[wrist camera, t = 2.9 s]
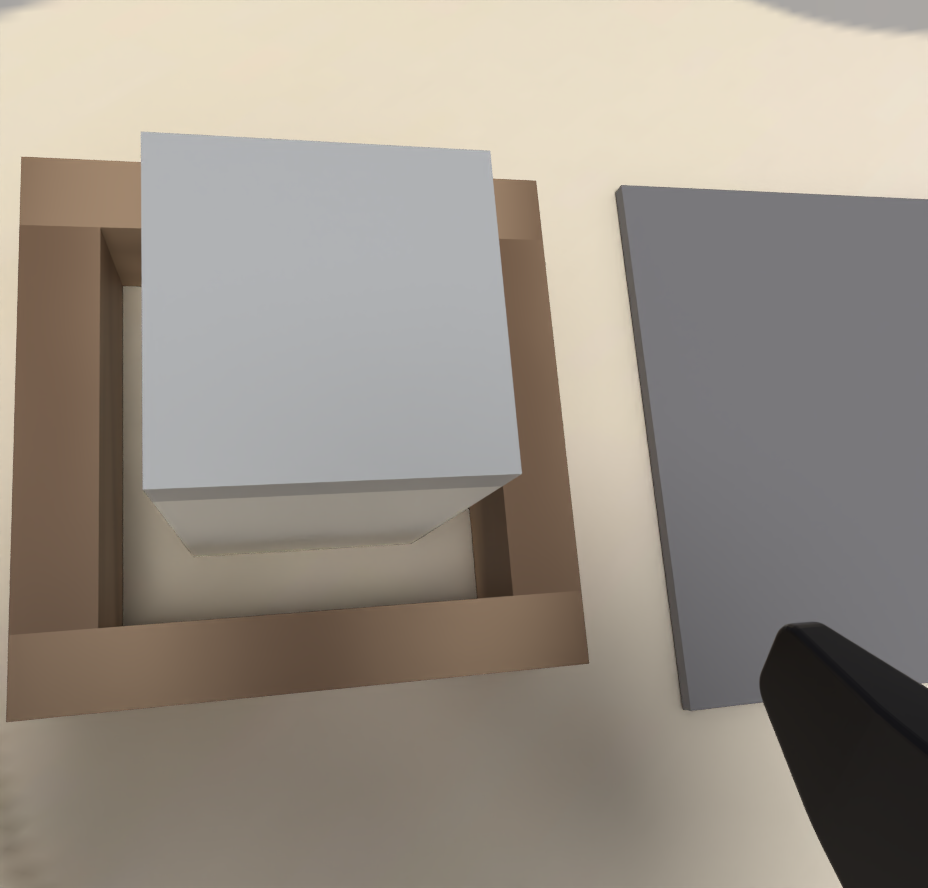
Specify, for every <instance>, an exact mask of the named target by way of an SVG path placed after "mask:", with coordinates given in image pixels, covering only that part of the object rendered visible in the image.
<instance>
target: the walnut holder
mask: <svg viewBox="0 0 928 888" xmlns="http://www.w3.org/2000/svg"><path fill="white" fill-rule="evenodd" d="M493 185H494V195H495V205H496V216H497V226H498V236H499V246H500V256H501V266H502V276H503V287H504V297H505V307H506V317H507V327H508V337H509V347H510V358H511V368H512V378H513V388H514V398H515V408H516V418H517V429H518V439H519V449H520V459H521V469H522V474H521V475H519V476H518V477H516V478H515V479H513V480H511V481H510V482H508V483H507V484H505V485H504V486H502V487H500V488H499V489H497V490H496V491H494V492H492V493H491V494H489V495H488V496H486V497H485V498H483V499H481V500H480V501H478V502H477V503H475V504H474V505H472V506H470V518H471V530H472V541H473V553H474V565H475V577H476V588H477V599H466V600H453V601H441V602H428V603H415V604H402V605H389V606H376V607H364V608H351V609H338V610H325V611H312V612H299V613H287V614H274V615H261V616H248V617H235V618H222V619H210V620H197V621H184V622H171V623H158V624H145V625H133V626H123V286H142V253H141V162H124V161H102V160H81V159H60V158H38V157H21V190H20V227H19V264H18V302H17V339H16V376H15V413H14V450H13V487H12V524H11V561H10V598H9V635H8V672H7V709H6V722H13V721H22V720H32V719H42V718H52V717H62V716H72V715H82V714H92V713H102V712H112V711H122V710H132V709H142V708H152V707H162V706H172V705H182V704H192V703H202V702H212V701H222V700H231V699H241V698H251V697H261V696H271V695H281V694H291V693H301V692H311V691H321V690H331V689H341V688H351V687H361V686H371V685H381V684H391V683H401V682H411V681H421V680H430V679H440V678H450V677H460V676H470V675H480V674H490V673H500V672H510V671H520V670H530V669H540V668H550V667H560V666H570V665H580V664H589V658H588V648H587V639H586V630H585V621H584V612H583V603H582V594H581V585H580V576H579V567H578V558H577V548H576V539H575V530H574V521H573V512H572V503H571V494H570V485H569V476H568V467H567V457H566V448H565V439H564V430H563V421H562V412H561V403H560V394H559V385H558V376H557V367H556V357H555V348H554V339H553V330H552V321H551V312H550V303H549V294H548V285H547V276H546V267H545V257H544V248H543V239H542V230H541V221H540V212H539V203H538V194H537V185H536V181H530V180H509V179H493Z"/></svg>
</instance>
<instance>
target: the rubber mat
mask: <svg viewBox="0 0 928 888" xmlns="http://www.w3.org/2000/svg"><path fill="white" fill-rule="evenodd" d="M616 200H617V207H618V215H619V223H620V230H621V238H622V245H623V253H624V261H625V268H626V276H627V284H628V291H629V299H630V307H631V314H632V322H633V330H634V337H635V345H636V353H637V360H638V368H639V376H640V383H641V391H642V398H643V406H644V414H645V421H646V429H647V437H648V444H649V452H650V460H651V467H652V475H653V483H654V490H655V498H656V506H657V513H658V521H659V529H660V536H661V544H662V552H663V559H664V567H665V574H666V582H667V590H668V597H669V605H670V613H671V620H672V628H673V636H674V643H675V651H676V659H677V666H678V674H679V682H680V689H681V697H682V705H683V710H689V711H693V710H702V709H710V708H719V707H727V706H736V705H744V704H752V703H761V702H763V701H762V698H761V694H760V689H759V678H760V673H761V671H762V668H763V666H764V663H765V661H766V659H767V656H768V654H769V651H770V649H771V646H772V644H773V642H774V639H775V637H776V634H777V632H778V631H779V629H780V628H781V627H783V626H784V625H786V624H791V623H801V622H813V621H814V622H820V623H823V624H824V625H826V626H828V627H830V628H831V629H833V630H835V631H836V632H838V633H839V634H841V635H843V636H844V637H846V638H847V639H849V640H851V641H852V642H854V643H856V644H857V645H859V646H860V647H862V648H864V649H865V650H867V651H868V652H870V653H872V654H873V655H875V656H877V657H878V658H880V659H881V660H883V661H885V662H886V663H888V664H889V665H891V666H893V667H894V668H896V669H898V670H899V671H901V672H902V673H904V674H906V675H907V676H909V677H910V678H912V679H914V680H915V681H917V682H918V683H920V684H921V683H928V199H906V198H885V197H863V196H842V195H821V194H799V193H778V192H756V191H735V190H713V189H692V188H670V187H649V186H627V185H621V186H620V188H619V189H618V190H617V191H616Z"/></svg>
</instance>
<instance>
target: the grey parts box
mask: <svg viewBox="0 0 928 888" xmlns="http://www.w3.org/2000/svg"><path fill="white" fill-rule="evenodd" d="M141 253H142V456H143V491H144V492H145V493H146V495H147V496H148V497H149V499H150V500H151V501H152V503H153V504H154V505H155V507H156V508H157V509H158V510H159V512H160V513H161V514H162V516H163V517H164V518H165V520H166V521H167V522H168V524H169V525H170V526H171V528H172V529H173V530H174V532H175V533H176V534H177V535H178V537H179V538H180V539H181V541H182V542H183V543H184V545H185V546H186V547H187V549H188V550H189V551H190V553H191V554H192V555H193V557H200V556H216V555H233V554H249V553H266V552H282V551H299V550H316V549H332V548H349V547H365V546H382V545H398V544H412V543H413V542H415V541H417V540H418V539H420V538H421V537H423V536H424V535H426V534H428V533H429V532H431V531H432V530H434V529H436V528H437V527H439V526H440V525H442V524H443V523H445V522H447V521H448V520H450V519H451V518H453V517H455V516H456V515H458V514H459V513H461V512H462V511H464V510H466V509H467V508H469V507H470V506H472V505H474V504H475V503H477V502H478V501H480V500H481V499H483V498H485V497H486V496H488V495H489V494H491V493H492V492H494V491H496V490H497V489H499V488H500V487H502V486H504V485H505V484H507V483H508V482H510V481H511V480H513V479H515V478H516V477H518V476H519V475H521V474H522V469H521V459H520V449H519V439H518V429H517V418H516V408H515V398H514V388H513V378H512V368H511V358H510V347H509V337H508V327H507V317H506V307H505V297H504V287H503V276H502V266H501V256H500V246H499V236H498V226H497V216H496V205H495V195H494V185H493V175H492V165H491V155H490V151H484V150H466V149H447V148H429V147H411V146H393V145H374V144H356V143H338V142H320V141H302V140H283V139H265V138H247V137H229V136H210V135H192V134H174V133H156V132H141Z"/></svg>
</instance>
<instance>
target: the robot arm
mask: <svg viewBox="0 0 928 888" xmlns="http://www.w3.org/2000/svg"><path fill="white" fill-rule="evenodd" d="M759 689H760V694H761V698H762V701H763V703H764V706H765V708H766V711H767V713H768V716H769V718H770V721H771V724H772V726H773V729H774V731H775V734H776V736H777V739H778V741H779V744H780V746H781V749H782V752H783V754H784V757H785V759H786V762H787V764H788V767H789V769H790V772H791V774H792V777H793V780H794V782H795V785H796V787H797V790H798V792H799V795H800V797H801V800H802V802H803V805H804V807H805V810H806V812H807V814H808V817H809V819H810V821H811V824H812V826H813V828H814V830H815V832H816V835H817V837H818V839H819V841H820V843H821V845H822V847H823V849H824V851H825V853H826V855H827V857H828V859H829V861H830V863H831V865H832V867H833V869H834V871H835V873H836V875H837V877H838V879H839V881H840V883H841V885H842V887H843V888H928V688H927V687H925V686H923V685H922V684H920V683H918V682H917V681H915V680H914V679H912V678H910V677H909V676H907V675H906V674H904V673H902V672H901V671H899V670H898V669H896V668H894V667H893V666H891V665H889V664H888V663H886V662H885V661H883V660H881V659H880V658H878V657H877V656H875V655H873V654H872V653H870V652H868V651H867V650H865V649H864V648H862V647H860V646H859V645H857V644H856V643H854V642H852V641H851V640H849V639H847V638H846V637H844V636H843V635H841V634H839V633H838V632H836V631H835V630H833V629H831V628H830V627H828V626H826V625H824V624H823V623H820V622H814V621H813V622H801V623H791V624H786V625H784V626H783V627H781V628H780V629H779V631H778V632H777V634H776V637H775V639H774V642H773V644H772V646H771V649H770V651H769V654H768V656H767V659H766V661H765V663H764V666H763V668H762V671H761V673H760V678H759Z"/></svg>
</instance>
